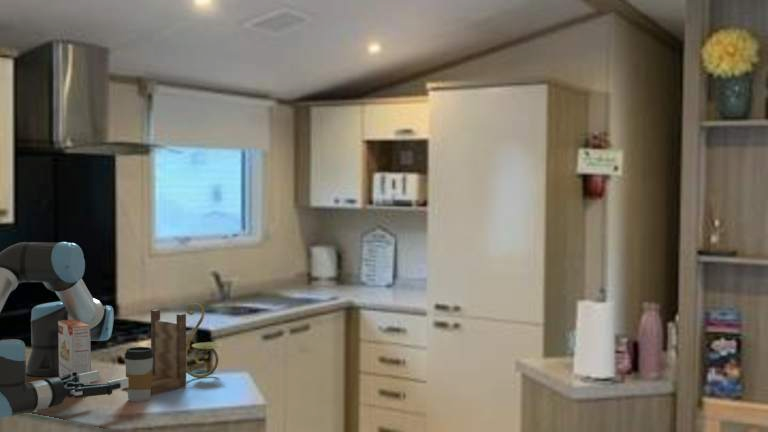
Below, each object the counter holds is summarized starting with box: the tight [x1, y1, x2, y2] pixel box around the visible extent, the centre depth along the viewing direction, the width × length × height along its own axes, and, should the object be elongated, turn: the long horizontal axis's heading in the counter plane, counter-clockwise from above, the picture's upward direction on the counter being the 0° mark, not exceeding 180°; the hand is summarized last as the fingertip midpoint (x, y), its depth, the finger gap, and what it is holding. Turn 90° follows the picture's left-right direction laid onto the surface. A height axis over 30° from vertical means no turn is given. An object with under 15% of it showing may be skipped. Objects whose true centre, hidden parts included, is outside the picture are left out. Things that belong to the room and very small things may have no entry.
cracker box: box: [58, 319, 92, 387], centre depth 258 cm, size 14×6×21 cm, turn 37°
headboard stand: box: [150, 309, 187, 396], centre depth 262 cm, size 14×13×23 cm
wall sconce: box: [186, 302, 222, 379], centre depth 275 cm, size 14×10×25 cm
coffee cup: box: [124, 346, 154, 403], centre depth 248 cm, size 8×8×15 cm
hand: (112, 378), depth 240 cm, fingers open, 13 cm apart
